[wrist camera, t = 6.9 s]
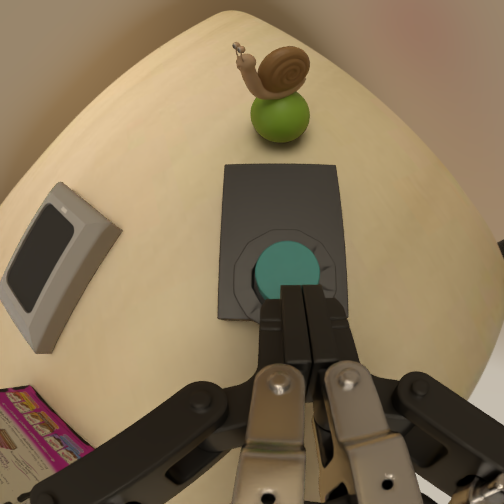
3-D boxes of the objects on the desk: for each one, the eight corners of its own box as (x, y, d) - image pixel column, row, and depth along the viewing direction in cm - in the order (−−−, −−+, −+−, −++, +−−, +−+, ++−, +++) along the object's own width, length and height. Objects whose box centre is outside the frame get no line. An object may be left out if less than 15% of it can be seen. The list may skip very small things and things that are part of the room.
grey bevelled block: (-11, 292, 20) (53, 175, 23) (11, 297, 23) (72, 190, 26) (27, 353, 18) (102, 216, 21) (51, 353, 22) (122, 230, 24)
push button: (313, 307, 17) (321, 304, 15) (256, 308, 17) (254, 304, 15) (312, 252, 18) (318, 240, 16) (256, 252, 18) (255, 240, 16)
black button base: (337, 328, 21) (356, 328, 16) (224, 329, 22) (211, 330, 17) (328, 183, 24) (340, 152, 20) (229, 183, 25) (221, 151, 20)
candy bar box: (22, 412, 20) (-83, 426, 4) (30, 383, 21) (-88, 388, 5) (90, 479, 18) (-10, 538, 2) (102, 454, 19) (-15, 516, 3)
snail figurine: (233, 130, 27) (216, 32, 15) (286, 107, 27) (291, 12, 16) (261, 167, 25) (256, 63, 14) (317, 140, 26) (337, 41, 14)
